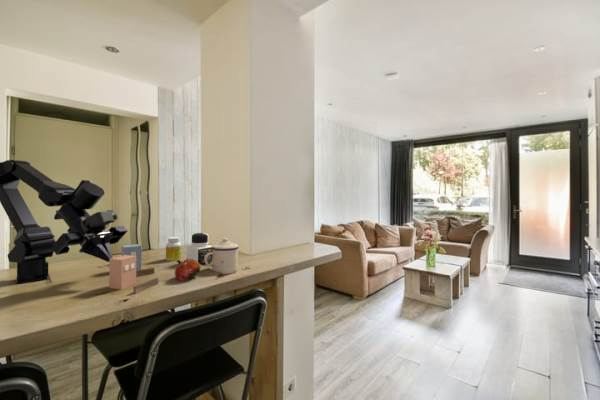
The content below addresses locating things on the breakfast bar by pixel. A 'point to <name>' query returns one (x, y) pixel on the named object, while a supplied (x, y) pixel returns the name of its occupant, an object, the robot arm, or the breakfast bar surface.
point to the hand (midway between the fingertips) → (110, 260)
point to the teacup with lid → (223, 257)
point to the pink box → (122, 271)
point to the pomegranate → (187, 269)
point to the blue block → (133, 253)
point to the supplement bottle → (173, 249)
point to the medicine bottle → (199, 249)
